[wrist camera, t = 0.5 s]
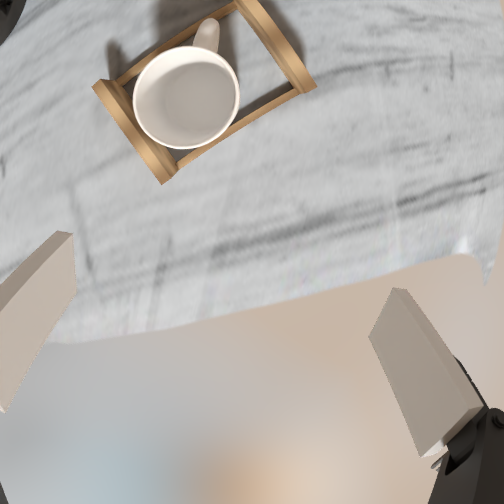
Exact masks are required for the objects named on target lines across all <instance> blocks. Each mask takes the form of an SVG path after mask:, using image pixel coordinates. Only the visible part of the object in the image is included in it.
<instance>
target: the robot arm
mask: <svg viewBox="0 0 504 504" xmlns="http://www.w3.org/2000/svg"><path fill="white" fill-rule="evenodd" d="M25 2H26V0H0V46H1V44H2V43H3V42H4V41H5V40H6V38H7V37H8V36H9V34H10V33H11V31H12V30H13V28H14V26H15V25H16V23H17V21H18V19H19V17H20V15H21V13H22V10H23V8H24V5H25ZM76 293H77V285H76V274H75V261H74V244H73V234H72V233H67V232H62V231H56V232H55V233H54V234H53V235H52V236H51V237H49V238H48V239H47V240H46V241H45V242H44V243H43V244H42V245H41V246H40V247H39V248H37V249H36V250H35V251H34V252H33V253H32V254H31V255H30V256H29V257H28V258H27V259H26V260H25V261H24V262H23V263H22V264H21V265H20V266H19V267H18V268H17V269H16V270H15V271H14V272H13V273H12V274H11V275H10V276H9V277H8V278H7V279H6V280H5V281H4V282H3V283H2V284H1V285H0V411H2V412H4V413H6V411H7V409H8V407H9V405H10V403H11V402H12V400H13V397H14V396H15V394H16V392H17V390H18V388H19V386H20V384H21V383H22V381H23V379H24V377H25V375H26V373H27V371H28V370H29V368H30V366H31V365H32V363H33V361H34V359H35V358H36V356H37V354H38V352H39V351H40V349H41V348H42V346H43V344H44V343H45V341H46V339H47V338H48V336H49V334H50V333H51V331H52V330H53V328H54V327H55V325H56V323H57V322H58V320H59V319H60V317H61V316H62V314H63V313H64V311H65V310H66V308H67V307H68V305H69V304H70V302H71V301H72V299H73V298H74V296H75V295H76ZM369 339H370V341H371V343H372V345H373V348H374V350H375V352H376V354H377V356H378V358H379V360H380V363H381V365H382V367H383V369H384V372H385V374H386V376H387V378H388V380H389V383H390V385H391V387H392V390H393V392H394V394H395V397H396V399H397V401H398V403H399V406H400V408H401V411H402V413H403V416H404V418H405V420H406V423H407V425H408V427H409V430H410V433H411V435H412V438H413V440H414V443H415V445H416V448H417V451H418V453H419V456H420V458H421V457H426V456H430V455H434V454H436V453H438V452H439V451H440V450H441V449H442V448H443V447H444V446H445V445H447V447H448V451H447V452H446V453H445V454H444V455H443V456H442V457H441V458H439V459H438V460H437V461H436V462H435V463H434V464H433V465H432V466H431V468H432V469H433V468H435V467H436V466H437V465H438V464H439V463H441V466H440V467H439V468H438V469H437V470H436V471H438V475H437V479H436V482H435V485H434V488H433V491H432V493H431V496H430V499H429V502H428V504H504V412H503V411H501V410H500V409H497V408H491V409H489V408H488V406H487V404H486V403H485V401H484V399H483V398H482V396H481V394H480V393H479V391H478V389H477V387H476V386H475V384H474V383H473V382H472V381H471V380H472V379H471V378H470V376H469V375H468V374H467V372H466V370H465V368H464V367H463V365H462V364H461V362H460V361H459V360H458V359H456V358H455V357H454V356H453V355H452V353H451V352H450V350H449V349H448V347H447V346H446V344H445V343H444V341H443V340H442V338H441V337H440V335H439V334H438V332H437V331H436V330H435V328H434V327H433V325H432V324H431V322H430V321H429V320H428V318H427V317H426V315H425V314H424V313H423V311H422V310H421V308H420V307H419V306H418V304H417V303H416V302H415V300H414V299H413V297H412V296H411V295H410V293H409V292H408V291H407V290H406V289H399V288H392V291H391V293H390V295H389V297H388V299H387V301H386V303H385V305H384V307H383V309H382V311H381V314H380V316H379V317H378V320H377V321H376V324H375V325H374V327H373V329H372V331H371V333H370V335H369ZM0 504H8V501H7V499H6V496H5V494H4V491H3V488H2V485H1V483H0Z"/></svg>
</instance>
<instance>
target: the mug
mask: <svg viewBox="0 0 504 504" xmlns="http://www.w3.org/2000/svg"><path fill="white" fill-rule="evenodd" d="M219 30H220V29H219V23H218V21H217V20H215V19H213V18H208V19H206V20H204V21H203V22H202V23H201V25H200V26H199V28H198V30H197V33H196V35H195V38H194V41H193V44H192V46H180V47H175V48H172V49H169V50H167V51H164V52H162V53H161V54H159V55H157V56H156V57H155V58H153V59H152V60H151V61H150V62H149V63H148V64H147V65H146V66H145V67H144V69H143V70H142V72H141V73H140V75H139V77H138V79H137V81H136V84H135V87H134V92H133V109H134V113H135V116H136V119H137V121H138V123H139V125H140V127H141V128H142V129H143V131H144V132H145V133H146V134H147V135H148V136H149V137H150V138H152V139H153V140H154V141H156V142H158V143H160V144H162V145H164V146H167V147H171V148H176V149H190V148H196V147H200V146H203V145H205V144H208V143H209V142H211V141H213V140H215V139H216V138H217V137H219V136H220V135H221V134H222V133H223V132H224V131H225V130H226V129H227V128H228V127H229V125H230V124H231V122H232V121H233V119H234V118H235V116H236V114H237V112H238V109H239V105H240V89H239V84H238V80H237V77H236V74H235V72H234V71H233V69H232V67H231V66H230V65H229V63H228V62H227V61H226V60H225V59H224V58H223V57H221V56H220V55H219V54H217V50H218V44H219Z"/></svg>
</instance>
